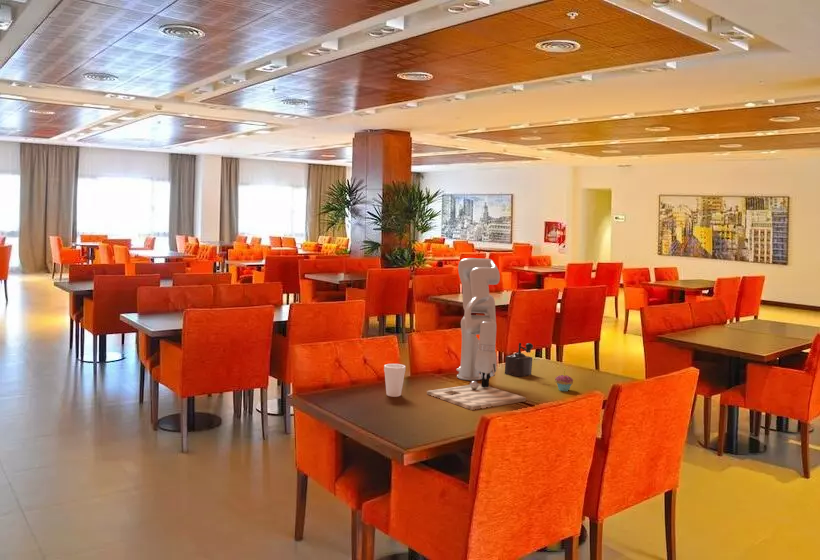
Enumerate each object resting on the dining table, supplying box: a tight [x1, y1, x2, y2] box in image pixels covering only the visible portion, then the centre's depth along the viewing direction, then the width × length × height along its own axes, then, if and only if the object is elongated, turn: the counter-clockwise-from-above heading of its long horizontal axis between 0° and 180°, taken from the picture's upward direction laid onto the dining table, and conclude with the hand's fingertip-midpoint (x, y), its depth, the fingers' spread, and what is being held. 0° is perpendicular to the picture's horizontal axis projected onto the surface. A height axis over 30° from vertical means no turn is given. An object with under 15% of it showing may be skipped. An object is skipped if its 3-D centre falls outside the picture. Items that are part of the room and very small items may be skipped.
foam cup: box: [383, 363, 407, 398], centre depth 312 cm, size 10×9×13 cm
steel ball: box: [469, 380, 479, 390], centre depth 322 cm, size 4×4×4 cm
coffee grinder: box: [504, 342, 534, 378], centre depth 365 cm, size 16×11×18 cm
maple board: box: [426, 382, 527, 411], centre depth 314 cm, size 30×32×2 cm
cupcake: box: [554, 366, 574, 392], centre depth 335 cm, size 9×8×12 cm
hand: (485, 386), depth 326 cm, fingers closed
